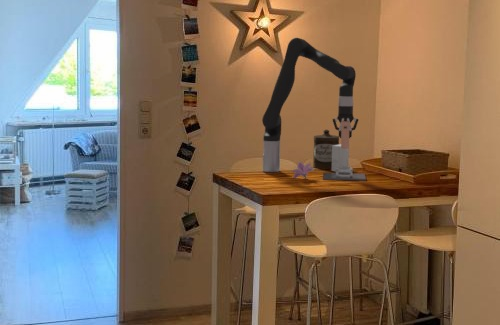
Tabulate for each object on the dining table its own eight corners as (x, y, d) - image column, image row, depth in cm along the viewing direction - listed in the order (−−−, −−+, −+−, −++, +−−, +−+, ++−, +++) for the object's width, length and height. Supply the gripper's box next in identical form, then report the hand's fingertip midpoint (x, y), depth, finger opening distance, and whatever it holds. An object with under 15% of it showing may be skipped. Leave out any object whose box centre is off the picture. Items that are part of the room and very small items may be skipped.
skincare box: (341, 169, 351) (341, 143, 349) (349, 171, 347) (349, 144, 345) (330, 171, 346) (331, 144, 344) (338, 172, 342) (339, 145, 339)
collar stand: (322, 179, 319) (323, 170, 318) (323, 174, 335) (323, 165, 334) (366, 180, 316) (366, 171, 316) (364, 175, 332) (364, 166, 331)
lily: (318, 180, 322) (313, 163, 325) (315, 175, 311) (310, 158, 314) (296, 187, 324) (291, 170, 327) (292, 182, 313) (288, 164, 316)
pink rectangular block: (340, 147, 326) (341, 120, 324) (348, 147, 326) (349, 120, 324) (341, 148, 320) (341, 121, 318) (348, 148, 320) (349, 121, 318)
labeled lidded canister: (312, 168, 354) (313, 130, 351) (314, 164, 369) (314, 128, 365) (338, 169, 352) (339, 131, 349) (339, 165, 366) (339, 128, 363)
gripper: (359, 104, 323) (358, 137, 325) (332, 104, 325) (331, 137, 327) (360, 105, 315) (359, 139, 318) (331, 105, 317) (331, 138, 320)
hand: (345, 137), depth 323 cm, fingers closed on pink rectangular block, 4 cm apart
